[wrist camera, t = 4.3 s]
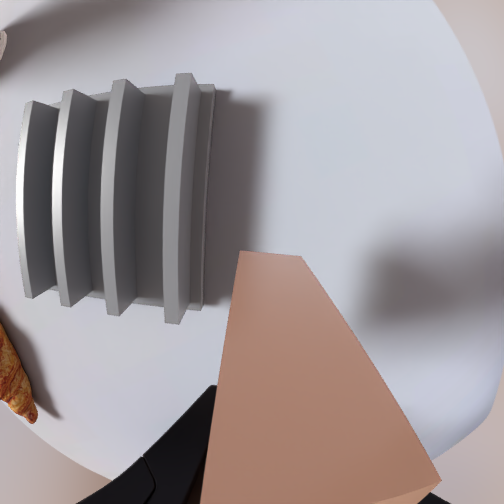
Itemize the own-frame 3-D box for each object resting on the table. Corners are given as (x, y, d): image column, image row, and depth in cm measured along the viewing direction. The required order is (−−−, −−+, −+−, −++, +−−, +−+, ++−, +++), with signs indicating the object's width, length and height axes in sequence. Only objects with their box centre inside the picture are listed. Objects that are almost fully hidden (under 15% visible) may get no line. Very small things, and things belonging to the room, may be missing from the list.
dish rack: (203, 304, 18) (192, 334, 14) (50, 284, 18) (20, 302, 14) (215, 89, 15) (206, 64, 11) (52, 108, 15) (20, 98, 11)
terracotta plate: (272, 412, 11) (286, 582, 3) (226, 409, 11) (210, 581, 3) (301, 256, 9) (442, 480, 1) (239, 250, 9) (198, 511, 1)
